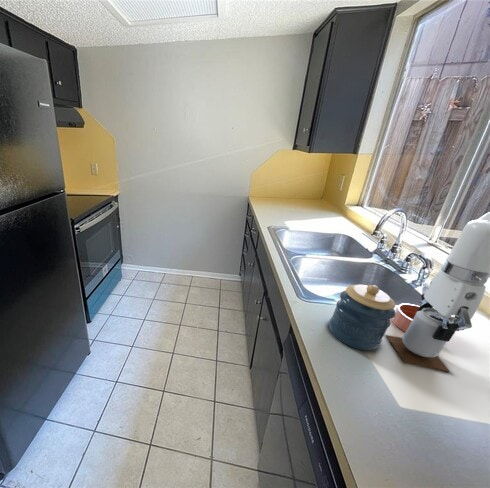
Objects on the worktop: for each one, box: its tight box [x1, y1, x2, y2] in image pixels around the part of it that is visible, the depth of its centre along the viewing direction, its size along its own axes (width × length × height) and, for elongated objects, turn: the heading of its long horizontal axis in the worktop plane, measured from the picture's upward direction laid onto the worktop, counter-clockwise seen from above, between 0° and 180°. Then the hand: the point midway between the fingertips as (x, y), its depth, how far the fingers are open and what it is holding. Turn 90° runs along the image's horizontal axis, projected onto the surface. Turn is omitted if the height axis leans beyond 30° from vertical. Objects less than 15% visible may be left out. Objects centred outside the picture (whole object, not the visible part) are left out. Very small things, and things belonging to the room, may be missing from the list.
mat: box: [386, 334, 450, 373], centre depth 72 cm, size 10×10×1 cm
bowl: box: [391, 303, 421, 333], centre depth 81 cm, size 12×12×5 cm
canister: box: [328, 284, 396, 351], centre depth 74 cm, size 13×13×18 cm
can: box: [401, 307, 454, 357], centre depth 69 cm, size 8×8×12 cm
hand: (430, 328), depth 69 cm, fingers closed on can, 7 cm apart
